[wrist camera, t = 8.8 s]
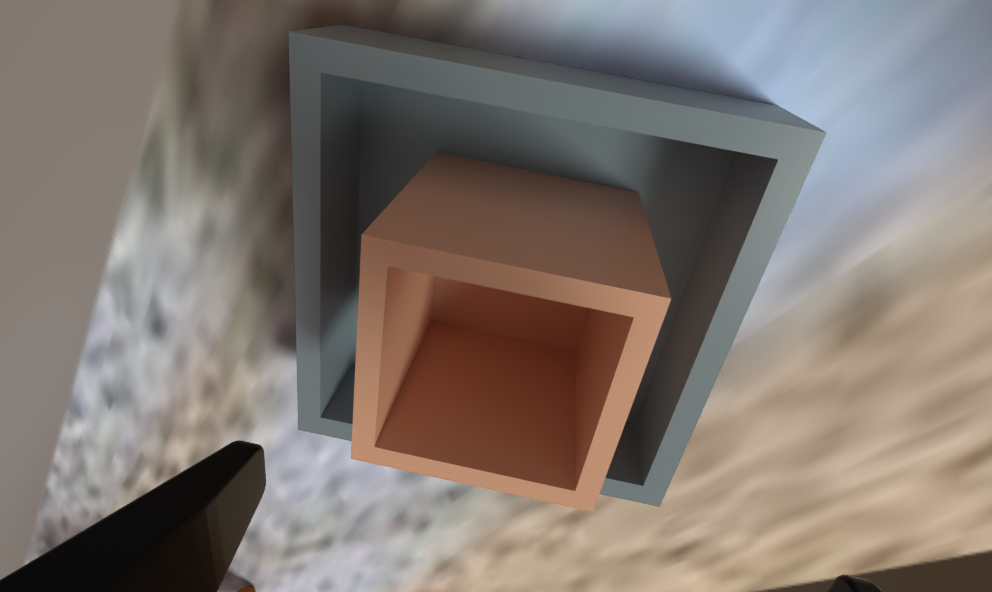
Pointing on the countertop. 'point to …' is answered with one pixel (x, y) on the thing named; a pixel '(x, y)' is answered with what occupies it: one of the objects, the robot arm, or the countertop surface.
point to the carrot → (247, 589)
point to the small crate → (504, 329)
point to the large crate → (550, 150)
